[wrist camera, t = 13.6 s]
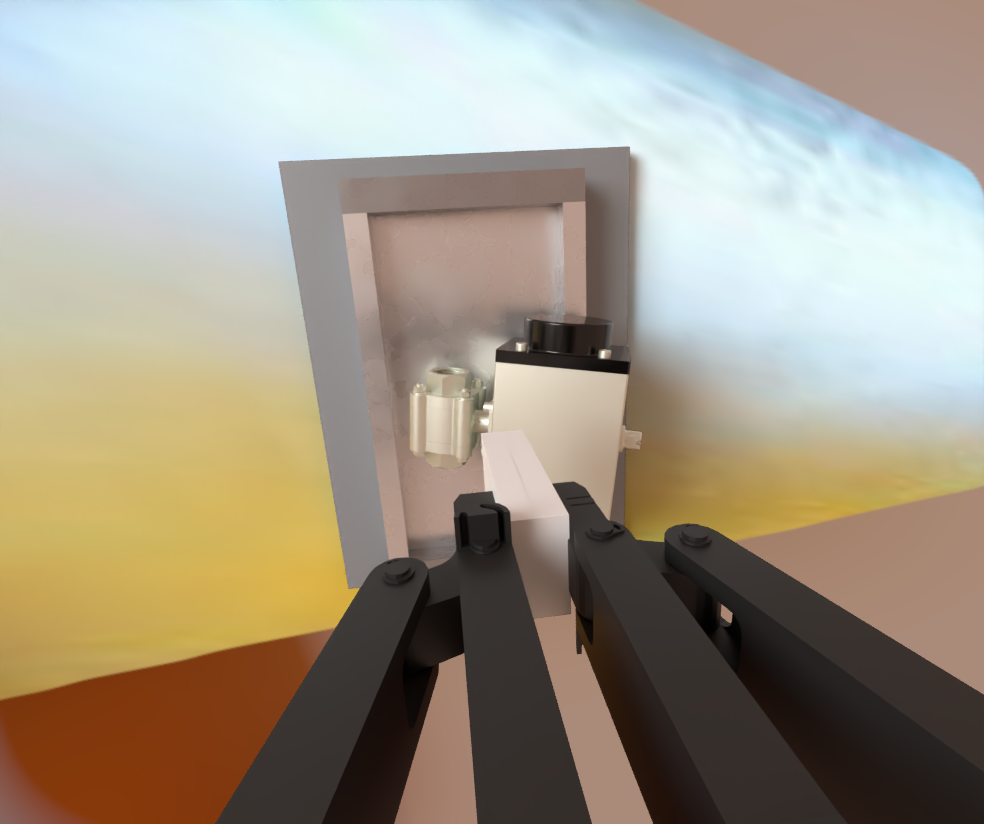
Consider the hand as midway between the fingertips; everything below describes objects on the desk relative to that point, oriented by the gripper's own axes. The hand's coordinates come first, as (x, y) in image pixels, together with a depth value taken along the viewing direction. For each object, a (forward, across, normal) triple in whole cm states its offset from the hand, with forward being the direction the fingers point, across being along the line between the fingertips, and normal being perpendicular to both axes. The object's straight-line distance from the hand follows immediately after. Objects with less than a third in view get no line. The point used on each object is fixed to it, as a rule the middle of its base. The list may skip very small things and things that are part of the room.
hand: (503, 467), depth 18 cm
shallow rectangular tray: (+14, 0, 0) cm, 14 cm away
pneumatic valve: (+11, -4, -1) cm, 11 cm away
